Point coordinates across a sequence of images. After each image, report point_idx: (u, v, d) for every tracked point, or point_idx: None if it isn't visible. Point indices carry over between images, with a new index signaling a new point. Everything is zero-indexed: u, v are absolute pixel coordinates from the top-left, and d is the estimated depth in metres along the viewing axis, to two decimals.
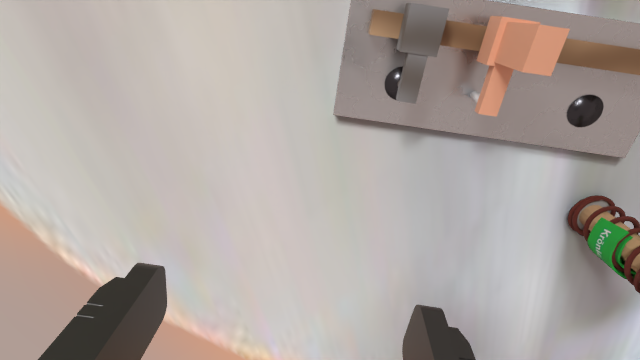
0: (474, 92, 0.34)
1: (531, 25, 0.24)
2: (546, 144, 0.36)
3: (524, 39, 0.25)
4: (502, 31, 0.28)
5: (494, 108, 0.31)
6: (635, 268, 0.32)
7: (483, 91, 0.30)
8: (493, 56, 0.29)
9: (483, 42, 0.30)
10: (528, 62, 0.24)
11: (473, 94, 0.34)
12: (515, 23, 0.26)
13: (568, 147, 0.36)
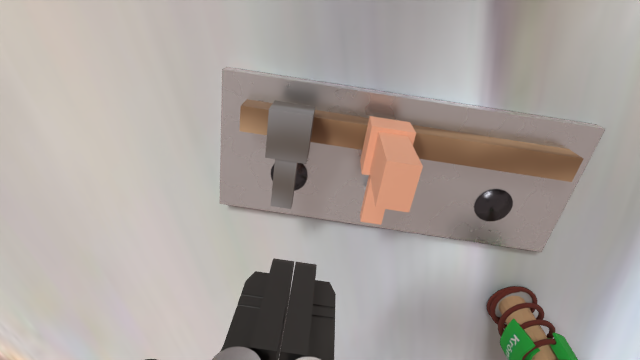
0: None
1: (384, 155, 0.21)
2: (455, 237, 0.33)
3: (380, 168, 0.21)
4: (374, 141, 0.24)
5: (377, 216, 0.27)
6: None
7: (364, 198, 0.27)
8: (368, 166, 0.25)
9: (364, 144, 0.27)
10: (380, 198, 0.21)
11: (365, 189, 0.30)
12: (380, 140, 0.23)
13: (479, 240, 0.33)
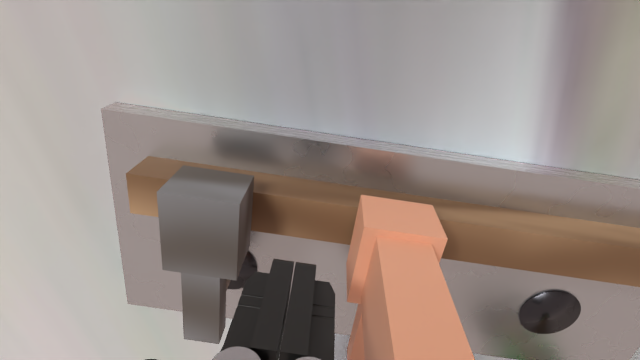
0: None
1: (388, 328, 0.09)
2: (486, 352, 0.22)
3: (380, 343, 0.10)
4: (368, 251, 0.13)
5: None
6: None
7: (354, 331, 0.16)
8: (358, 290, 0.14)
9: (352, 240, 0.15)
10: None
11: None
12: (379, 265, 0.12)
13: (523, 357, 0.22)
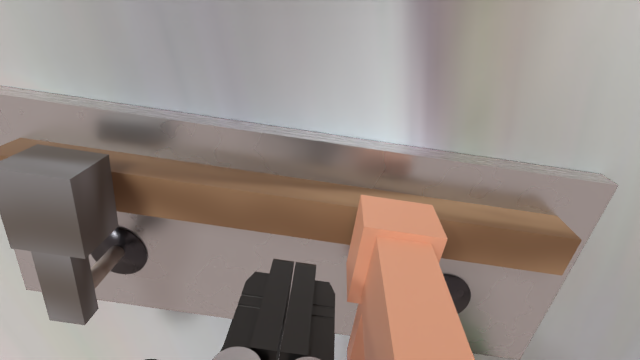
0: None
1: (388, 328, 0.09)
2: None
3: (379, 343, 0.10)
4: (368, 251, 0.13)
5: None
6: None
7: (354, 331, 0.16)
8: (358, 290, 0.14)
9: (352, 240, 0.15)
10: None
11: None
12: (379, 264, 0.12)
13: None
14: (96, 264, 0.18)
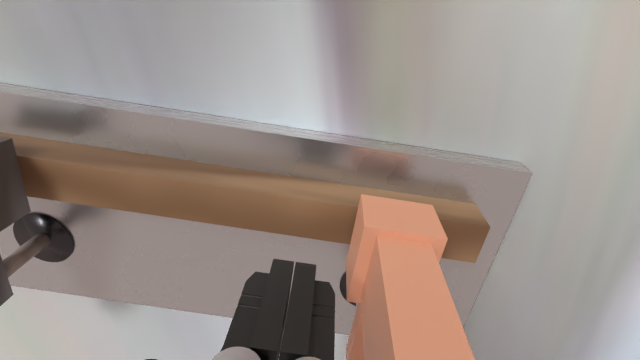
0: None
1: (389, 328, 0.09)
2: None
3: (379, 343, 0.10)
4: (368, 251, 0.13)
5: None
6: None
7: (353, 330, 0.16)
8: (358, 289, 0.14)
9: (352, 240, 0.15)
10: None
11: None
12: (380, 264, 0.12)
13: None
14: (15, 251, 0.18)
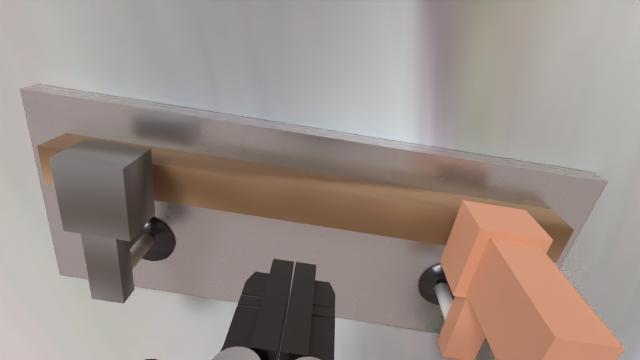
0: (441, 287, 0.21)
1: (536, 313, 0.11)
2: (394, 323, 0.23)
3: (520, 327, 0.12)
4: (480, 250, 0.15)
5: (469, 351, 0.18)
6: None
7: (450, 323, 0.17)
8: (465, 285, 0.16)
9: (451, 241, 0.17)
10: None
11: (438, 291, 0.21)
12: (504, 261, 0.13)
13: (428, 328, 0.23)
14: (131, 250, 0.20)
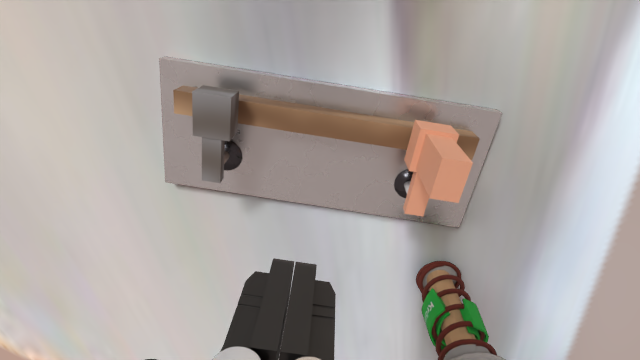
0: (407, 183, 0.34)
1: (438, 153, 0.24)
2: (379, 213, 0.36)
3: (433, 164, 0.25)
4: (421, 142, 0.28)
5: (420, 209, 0.31)
6: None
7: (409, 192, 0.30)
8: (415, 163, 0.29)
9: (409, 144, 0.30)
10: (434, 190, 0.24)
11: (405, 185, 0.34)
12: (430, 140, 0.26)
13: (402, 216, 0.36)
14: None
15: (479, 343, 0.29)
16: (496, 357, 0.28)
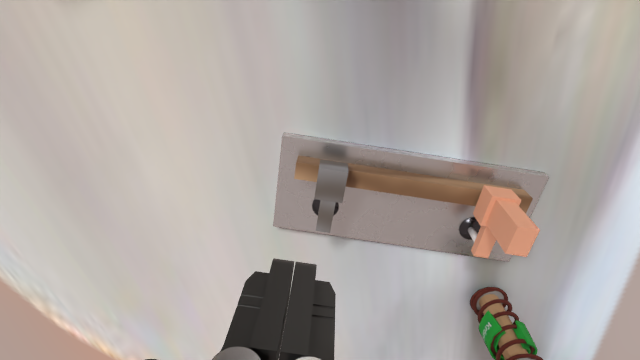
0: (471, 228, 0.43)
1: (512, 221, 0.33)
2: (445, 250, 0.45)
3: (507, 228, 0.33)
4: (492, 205, 0.37)
5: (486, 253, 0.39)
6: (504, 359, 0.41)
7: (477, 240, 0.39)
8: (485, 220, 0.37)
9: (478, 203, 0.39)
10: (510, 248, 0.33)
11: (470, 230, 0.43)
12: (501, 207, 0.35)
13: (463, 253, 0.45)
14: None
15: (533, 357, 0.38)
16: None
